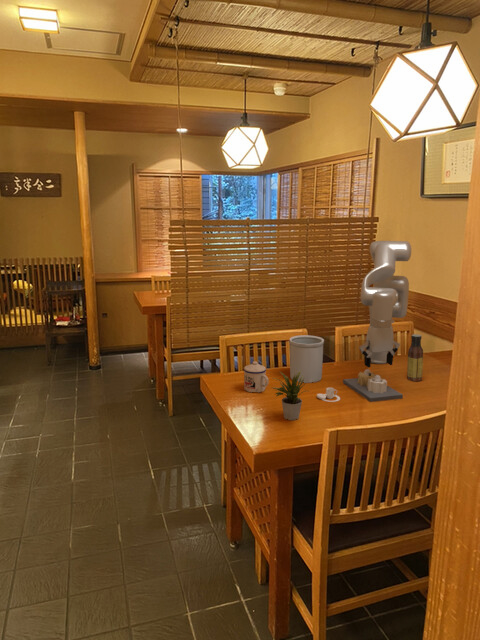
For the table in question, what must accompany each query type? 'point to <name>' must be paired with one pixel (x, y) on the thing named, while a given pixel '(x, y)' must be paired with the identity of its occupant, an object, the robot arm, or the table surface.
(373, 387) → the gear
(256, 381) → the teacup with lid
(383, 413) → the table surface
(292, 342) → the utensil holder
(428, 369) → the table surface
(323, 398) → the teacup and saucer
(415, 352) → the sauce bottle
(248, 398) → the table surface
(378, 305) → the robot arm
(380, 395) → the gear board
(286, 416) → the house plant
